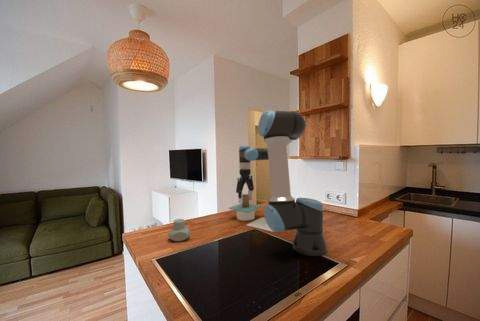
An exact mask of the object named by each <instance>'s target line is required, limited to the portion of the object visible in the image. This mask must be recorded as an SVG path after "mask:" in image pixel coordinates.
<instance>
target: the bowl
mask: <svg viewBox="0 0 480 321" xmlns="http://www.w3.org/2000/svg"><path fill="white" fill-rule="evenodd" d="M255 212H256V210H254V211H252V212H249V213H246V212H241V211H236V219H237V220H238V221H243V222H246V221H247V222H248V221H249V222H250V221H252V220H253V221H254V220H255V218H256V217H255V216H256V215H255Z"/></svg>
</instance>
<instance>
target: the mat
mask: <svg viewBox="0 0 480 321" xmlns="http://www.w3.org/2000/svg"><path fill="white" fill-rule="evenodd" d="M246 226H247V227H253V228H256V229H261V230H265V231H269V232H274V231H273V230H271V229H270V228H269V226H268V224H267V222H266V219H265V216H264V217H263V216H261V217H260V218H257V219H254V220H253V221H251V222H249V223H247V224H246Z"/></svg>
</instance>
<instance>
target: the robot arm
mask: <svg viewBox="0 0 480 321" xmlns="http://www.w3.org/2000/svg"><path fill="white" fill-rule="evenodd" d="M306 124H307V123H306V119H305V117H304V116H303V115H302V114H301V113H299V112H296V111H293V110H291V111H290V110H275V109H273V110H264V112H262V114H261V115H260V118H259V120H258V126H257V131H258V135H259V136H260V137H263V142H264V143H266V145H267V147H264V148H252V147H251V146H250V145H240V146H239V148H238V159H239V160H238V161H239V163H238V164H239V167H238V168H239V175H240V177H237V178H236V180H237V182H236V183H237V184H236V190H235V193H237V194H238V195H237V196H238V203H239V204H241V203H243V189H244V186H245V184H246V186H247V189H248V190H247V194H248V195H249V201H252V200H253V191H254V188H255V187H254V181H253V175H251V171H252V170H251V167H252V166H251V162H252V161H253V162H254V161H268V170H269V184H270V193H271V194H270V195H271V196H270V198H269V199H268V204H266V205H265V207H264V210H263V212H264V213H263V214H264V218H265V219H266V222H267V224H268V226H269V228H270V229H271V230H273V232H275V233H277V232H282V233H283V232H285V231H292V230H296V232H295V234H294V238H293V240H292V248H293V250H294V251H295V252H296V253H299V254H301V255H303V256H308V257H321V256H323V255H325V254H326V253H328V245H327V242H326V239H325V236H324V231H323V230H324V229H323V228H324V209H323V208H324V207H323V203H322V202H321V201H319V199H313V198H308V197H297V198H296V199H295V197H293V196H292V194H291V192H292V191H291V181H290V172H289V170H290V169H289V160H288V148H287V147H288V145H290V143H292V142H293V141H297V140H298V139H300V138H301V137H302V136H303V134H304V133H305V131H306V129H307V125H306Z"/></svg>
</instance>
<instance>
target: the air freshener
mask: <svg viewBox="0 0 480 321" xmlns="http://www.w3.org/2000/svg"><path fill="white" fill-rule="evenodd" d="M172 222H173V228H172V229H170V231H169V232H168V238H169V239H171V240H172V241H173V242H183V241H185V240H187V239H188V238H189V236H190V235H191V230H190V229H189V227H187V226H186V220H185V219H183V218H178V219H174V220H173V221H172Z"/></svg>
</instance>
